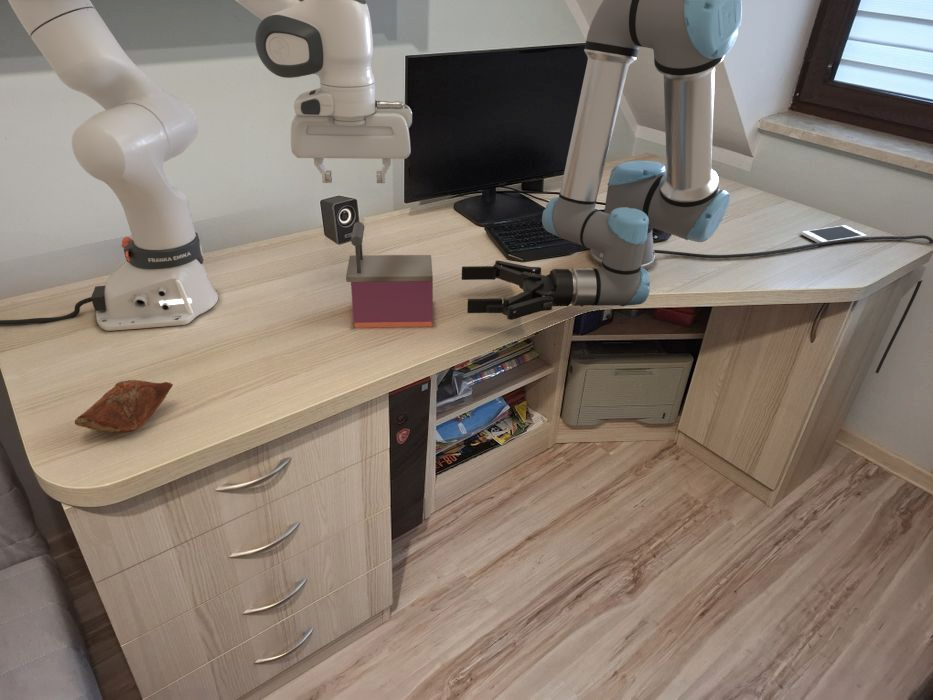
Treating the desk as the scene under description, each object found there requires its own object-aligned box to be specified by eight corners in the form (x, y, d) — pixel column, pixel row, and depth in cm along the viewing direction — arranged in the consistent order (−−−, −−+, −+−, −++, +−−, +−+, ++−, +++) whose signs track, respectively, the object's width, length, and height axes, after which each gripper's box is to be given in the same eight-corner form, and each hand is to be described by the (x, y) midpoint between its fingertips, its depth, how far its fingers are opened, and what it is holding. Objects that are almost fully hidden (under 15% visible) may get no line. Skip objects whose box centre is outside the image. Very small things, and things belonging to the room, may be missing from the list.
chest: (354, 327, 124) (350, 282, 119) (357, 304, 132) (354, 260, 127) (432, 326, 126) (432, 281, 120) (431, 303, 133) (431, 260, 128)
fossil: (179, 377, 103) (140, 354, 94) (189, 423, 99) (149, 403, 90) (107, 409, 103) (61, 389, 94) (114, 456, 99) (67, 439, 90)
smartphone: (800, 234, 170) (801, 231, 170) (844, 227, 175) (845, 224, 174) (821, 245, 165) (822, 241, 164) (865, 238, 169) (867, 234, 169)
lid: (346, 282, 119) (342, 239, 114) (350, 260, 126) (346, 219, 122) (432, 281, 120) (432, 238, 115) (431, 259, 128) (431, 219, 123)
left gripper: (411, 97, 109) (412, 176, 117) (289, 95, 107) (299, 175, 115) (411, 105, 104) (413, 188, 111) (283, 104, 102) (294, 188, 110)
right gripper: (582, 336, 119) (469, 339, 117) (555, 275, 140) (459, 276, 138) (587, 301, 115) (471, 303, 113) (559, 244, 136) (460, 244, 134)
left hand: (354, 182), depth 113 cm, fingers open, 8 cm apart
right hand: (464, 288), depth 126 cm, fingers open, 13 cm apart
